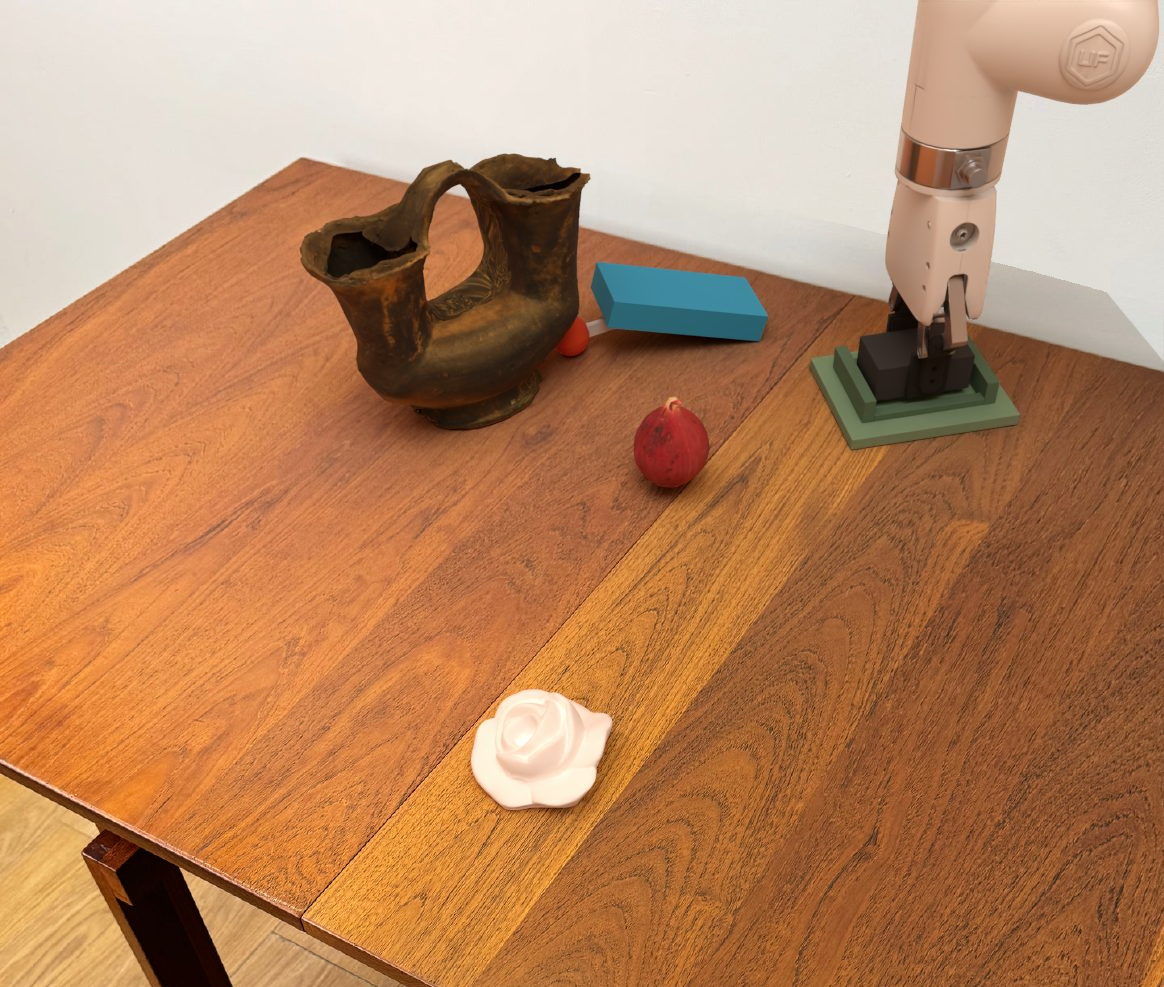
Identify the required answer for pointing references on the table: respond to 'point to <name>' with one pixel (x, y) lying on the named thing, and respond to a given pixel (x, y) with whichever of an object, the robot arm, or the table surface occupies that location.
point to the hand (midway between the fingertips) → (912, 373)
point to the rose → (539, 751)
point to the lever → (668, 305)
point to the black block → (904, 362)
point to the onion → (671, 445)
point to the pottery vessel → (460, 289)
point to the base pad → (909, 404)
